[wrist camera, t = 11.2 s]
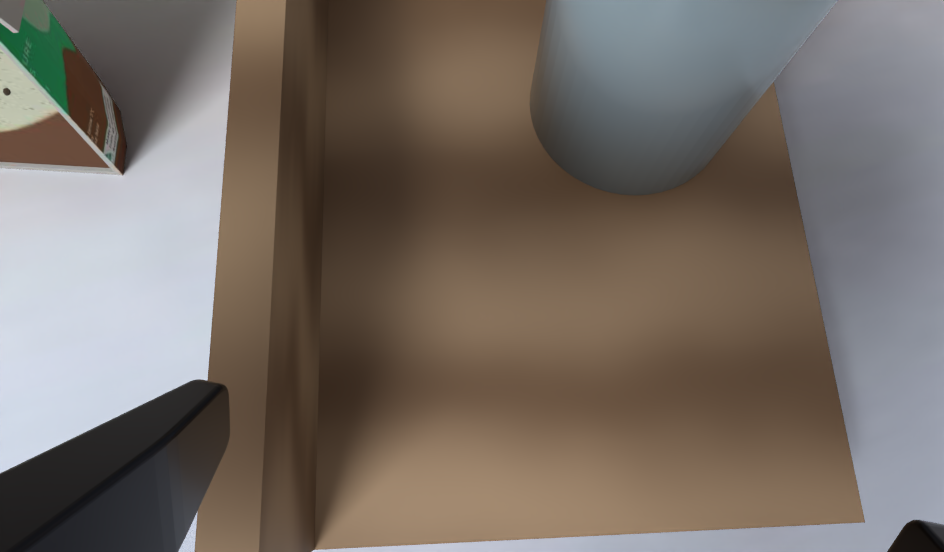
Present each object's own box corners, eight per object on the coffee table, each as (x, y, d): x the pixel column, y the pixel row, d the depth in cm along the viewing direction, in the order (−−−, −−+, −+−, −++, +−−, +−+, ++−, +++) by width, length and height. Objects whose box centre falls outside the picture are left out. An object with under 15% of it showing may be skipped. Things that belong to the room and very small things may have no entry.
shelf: (806, 514, 20) (1023, 544, 12) (295, 539, 19) (192, 586, 12) (710, -10, 26) (818, -211, 18) (314, -2, 25) (252, -207, 18)
